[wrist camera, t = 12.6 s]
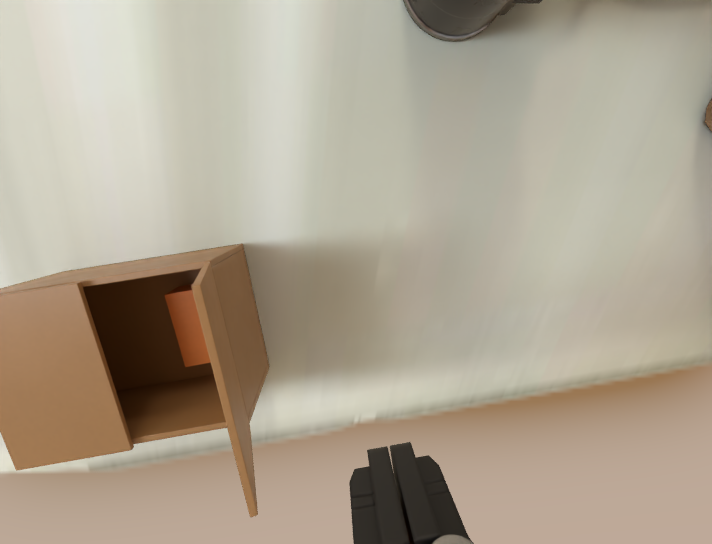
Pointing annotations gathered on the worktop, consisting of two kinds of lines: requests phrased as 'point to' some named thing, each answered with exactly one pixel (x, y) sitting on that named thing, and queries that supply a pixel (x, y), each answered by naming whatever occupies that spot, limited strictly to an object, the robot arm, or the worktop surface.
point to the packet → (187, 325)
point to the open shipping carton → (117, 357)
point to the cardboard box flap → (226, 379)
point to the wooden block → (709, 115)
